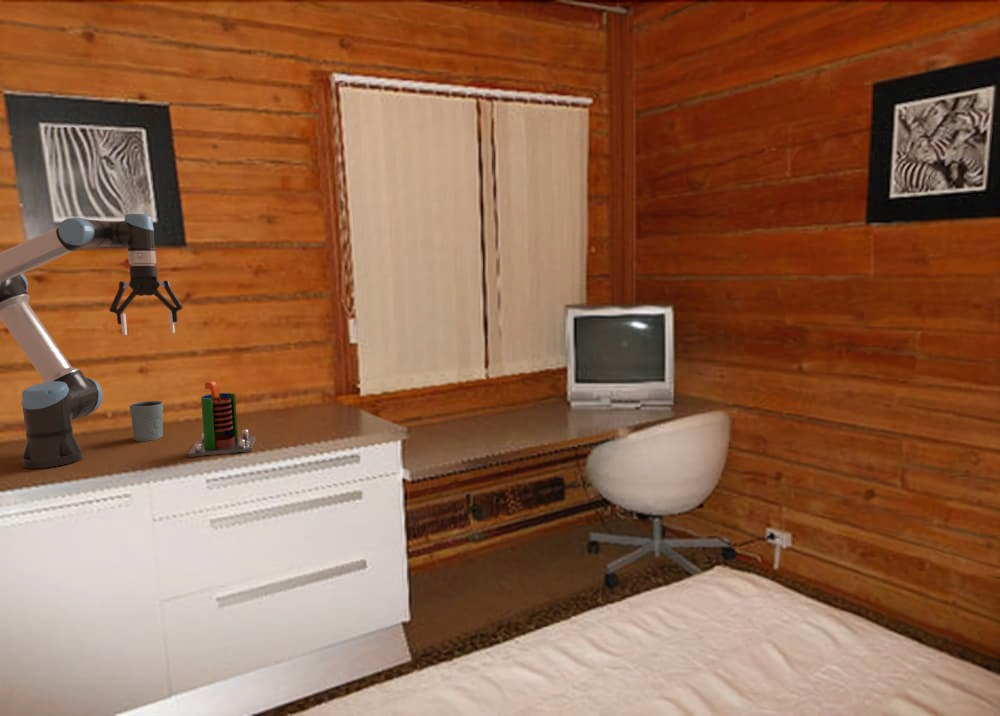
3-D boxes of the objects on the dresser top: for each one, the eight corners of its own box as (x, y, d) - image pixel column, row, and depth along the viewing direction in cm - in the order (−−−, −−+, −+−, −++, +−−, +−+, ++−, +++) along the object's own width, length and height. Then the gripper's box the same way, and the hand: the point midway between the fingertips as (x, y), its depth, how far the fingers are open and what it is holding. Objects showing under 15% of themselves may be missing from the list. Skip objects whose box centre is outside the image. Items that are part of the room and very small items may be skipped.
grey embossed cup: (133, 437, 235) (129, 402, 233) (165, 433, 239) (162, 399, 238) (132, 443, 226) (129, 407, 224) (166, 439, 230) (163, 404, 229)
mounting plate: (188, 457, 207) (187, 445, 206) (196, 444, 222) (195, 433, 221) (251, 451, 211) (250, 440, 211) (255, 439, 227) (254, 428, 226)
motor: (223, 449, 210) (218, 385, 208) (197, 448, 212) (191, 384, 210) (242, 441, 220) (237, 379, 218) (217, 440, 222) (212, 379, 219)
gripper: (94, 265, 204) (100, 336, 207) (184, 264, 211) (190, 333, 214) (101, 266, 211) (107, 334, 214) (188, 264, 218) (194, 331, 221)
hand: (149, 334), depth 214 cm, fingers open, 13 cm apart
